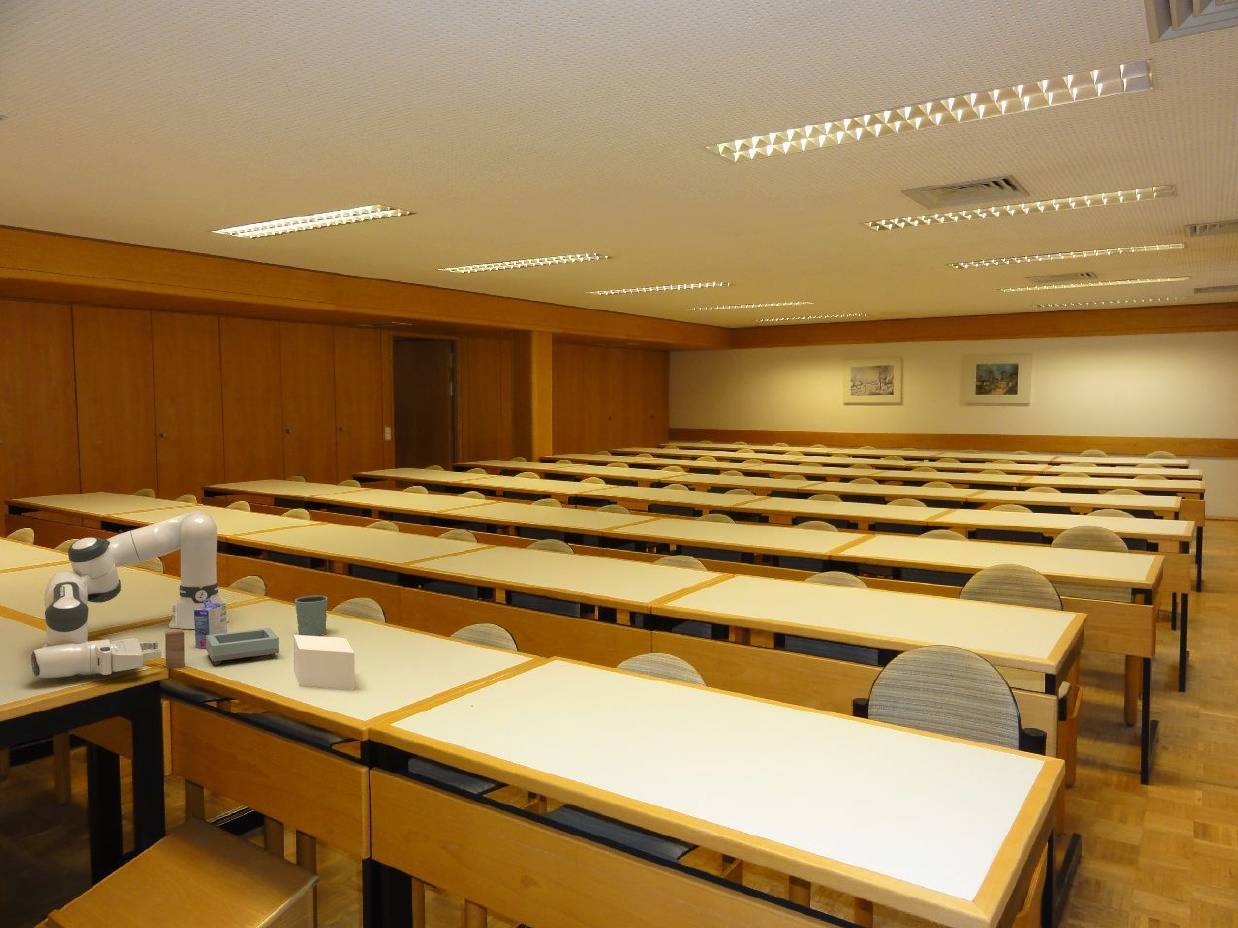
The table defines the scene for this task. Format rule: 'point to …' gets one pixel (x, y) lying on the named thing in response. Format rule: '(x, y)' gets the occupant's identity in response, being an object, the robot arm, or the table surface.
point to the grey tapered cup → (311, 615)
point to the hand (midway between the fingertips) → (159, 649)
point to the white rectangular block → (324, 662)
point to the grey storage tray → (242, 644)
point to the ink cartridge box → (209, 621)
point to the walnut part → (175, 648)
